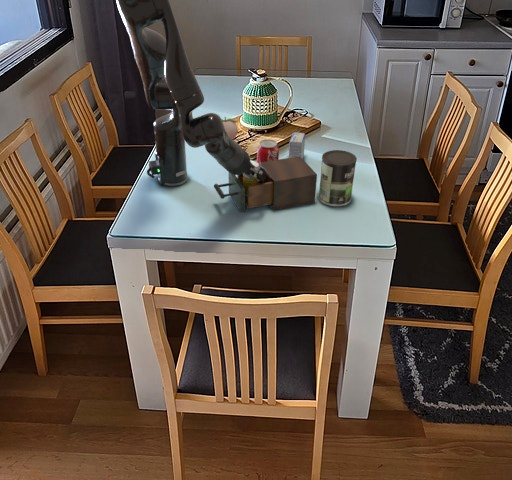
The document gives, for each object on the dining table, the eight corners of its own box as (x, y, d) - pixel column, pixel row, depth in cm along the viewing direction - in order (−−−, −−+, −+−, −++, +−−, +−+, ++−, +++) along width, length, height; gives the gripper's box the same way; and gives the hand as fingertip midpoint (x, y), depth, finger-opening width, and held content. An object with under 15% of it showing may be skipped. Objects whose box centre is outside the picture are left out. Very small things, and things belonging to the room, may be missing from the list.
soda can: (262, 183, 186) (263, 149, 179) (252, 174, 191) (253, 141, 184) (281, 179, 189) (283, 145, 182) (271, 170, 194) (272, 137, 187)
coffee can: (356, 195, 181) (362, 155, 172) (342, 210, 174) (347, 168, 165) (327, 187, 185) (331, 146, 177) (312, 200, 178) (316, 159, 170)
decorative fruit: (218, 149, 206) (217, 123, 200) (210, 140, 212) (209, 114, 205) (242, 145, 209) (242, 119, 203) (233, 136, 215) (233, 111, 209)
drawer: (223, 215, 169) (222, 192, 164) (211, 196, 177) (211, 173, 173) (280, 205, 174) (281, 182, 169) (266, 187, 182) (266, 165, 178)
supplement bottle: (244, 198, 172) (244, 168, 166) (241, 189, 176) (241, 160, 170) (262, 197, 173) (262, 167, 167) (259, 188, 177) (259, 159, 171)
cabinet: (273, 210, 173) (274, 181, 167) (258, 190, 183) (259, 162, 177) (314, 202, 177) (317, 174, 171) (298, 183, 187) (300, 156, 181)
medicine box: (300, 166, 197) (302, 142, 191) (288, 164, 197) (289, 141, 192) (304, 156, 203) (305, 133, 197) (291, 154, 203) (292, 131, 198)
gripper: (205, 161, 161) (231, 183, 176) (247, 175, 155) (270, 197, 170) (216, 137, 161) (241, 161, 177) (258, 151, 155) (280, 174, 170)
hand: (255, 178), depth 173 cm, fingers closed on supplement bottle, 5 cm apart
